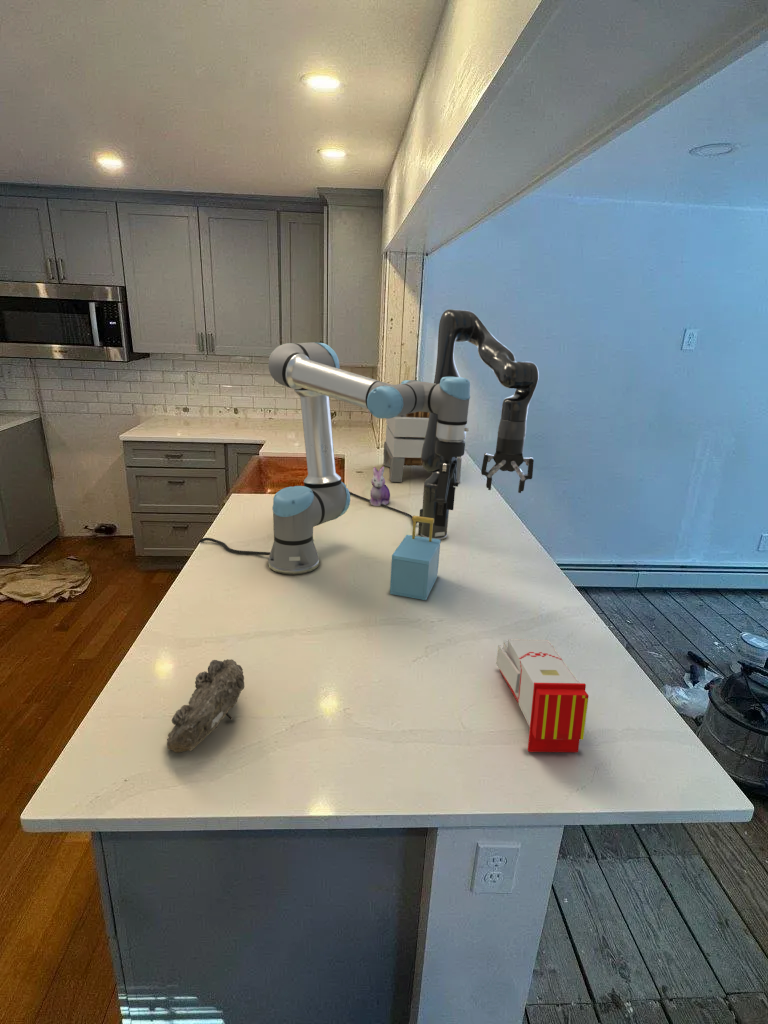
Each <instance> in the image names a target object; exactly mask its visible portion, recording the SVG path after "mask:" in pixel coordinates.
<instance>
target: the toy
mask: <svg viewBox="0 0 768 1024" xmlns="http://www.w3.org/2000/svg"><path fill="white" fill-rule="evenodd" d="M502 644H503V645H499V644H498V646H497V654H496V661H495V664H496V666H497V667H498V669H499V672H500V674H501V675H502V677H503V679H504V681H505V682H506V684H507V687H508V688H509V690H510V692H511V693H512V695H513V697H514V699H515V700H516V703H518V706H519V708H520V710H521V713H522V714H523V716H524V718H525V721H526V723H527V725H528V727H529V731H528V742H527V752H529V753H579V747H580V740H581V741H582V740H584V737H585V730H586V722H587V721H586V719H587V713H588V705H589V704H588V703H589V694H588V693H587V691H586V689H587V688H586V687H587V684H586V683H583V682H581V683H580V682H579V680H578V679H577V677H576V676H575V675H574V673H573V672H572V671H571V669H570V668H569V667H568V665H567V664H566V663H565V661H564V660H563V658H562V656H561V655H560V654H559V652H557V650H556V648H555V646H554V645H553V644H552V643H551V642H550V641H549V639H522V638H521V639H517V638H516V639H515V638H514V639H512V638H508V639H507V640H503V643H502Z"/></svg>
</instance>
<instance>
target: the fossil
mask: <svg viewBox="0 0 768 1024" xmlns="http://www.w3.org/2000/svg"><path fill="white" fill-rule="evenodd" d="M243 670H244V669H243V667H242V665H240V664H237V662H236V661H235V660H234V659H232V658H231V659H227V658H226V659H224V660H223V661H222V660H217V659H212V660H211V661H210V663H209V665H208V666H207V671H201V672H199V673H198V674H197V675H196V676H195V680H194V684H195V685H194V687H195V689H194V690H193V693H192V694H191V697H190V698H189V700H188V704H184V705H182V706H181V707H180V709H177V710H176V711H175V713H174V715H173V716H172V718H171V723H172V724H173V727H172V730H171V731H170V732H168V734H167V738H166V741H167V742H166V745H167V749H168V750H169V751H173V752H174V753H176V754H178V753H182V752H188V751H189V752H192V751H193V750H195V748H196V747H197V746H199V744H200V743H201V742H203V741H204V740H205V739H206V738H207V737H208V736H209V735H210V734H211V733H212V732H214V730H215V729H217V727H218V726H219V724H220V722H221V721H222V720H223V719H224V718H225V716H226V717H227V719H229V720H233V717H232V715H230V714H229V710H230V709H231V708H234V706H235V704H236V703H237V702H238V699H239V697H240V695H241V693H242V691H243V690H245V689H244V688H245V675H244V671H243Z"/></svg>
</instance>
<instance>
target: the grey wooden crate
mask: <svg viewBox="0 0 768 1024" xmlns="http://www.w3.org/2000/svg"><path fill="white" fill-rule="evenodd" d="M429 414H430V413H429V412H415V413H410V414H404V415H400V416H396V417H393V418H389V419H386V418H385V423H386V428H385V438H384V442H383V467H388V468H389V475H388V476H389V477H388V478H389V480H390V482H391V483H402V482H403V475H404V469H405V466H406V467H407V466H411V467H412V466H413V467H415V466H416V467H417V466H418V467H423V466H422V462H421V452H422V448H423V443H424V439H425V435H426V431H427V426H428V420H429ZM462 461H463V460H462V456H461V457H457V481H456V483H458V484H459V483H461V472H462Z"/></svg>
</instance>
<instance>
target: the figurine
mask: <svg viewBox="0 0 768 1024" xmlns="http://www.w3.org/2000/svg"><path fill="white" fill-rule="evenodd" d="M372 472H373V473H372V474H373V476H372V478H371V485H372V487H371V488H370V499H369V500H370V502H369V504H370V505H371V506H373V507H382V506H381V504H384V505H386V506H387V505H388V504H389V503H390V500H391V492H390V489H389V487H388V486H387V485H386V479H385V476H384V472H385V466H384V465H383V466H381V467H380V468H379V470H378V469H377V467H376V466H374V467H373V468H372Z"/></svg>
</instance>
